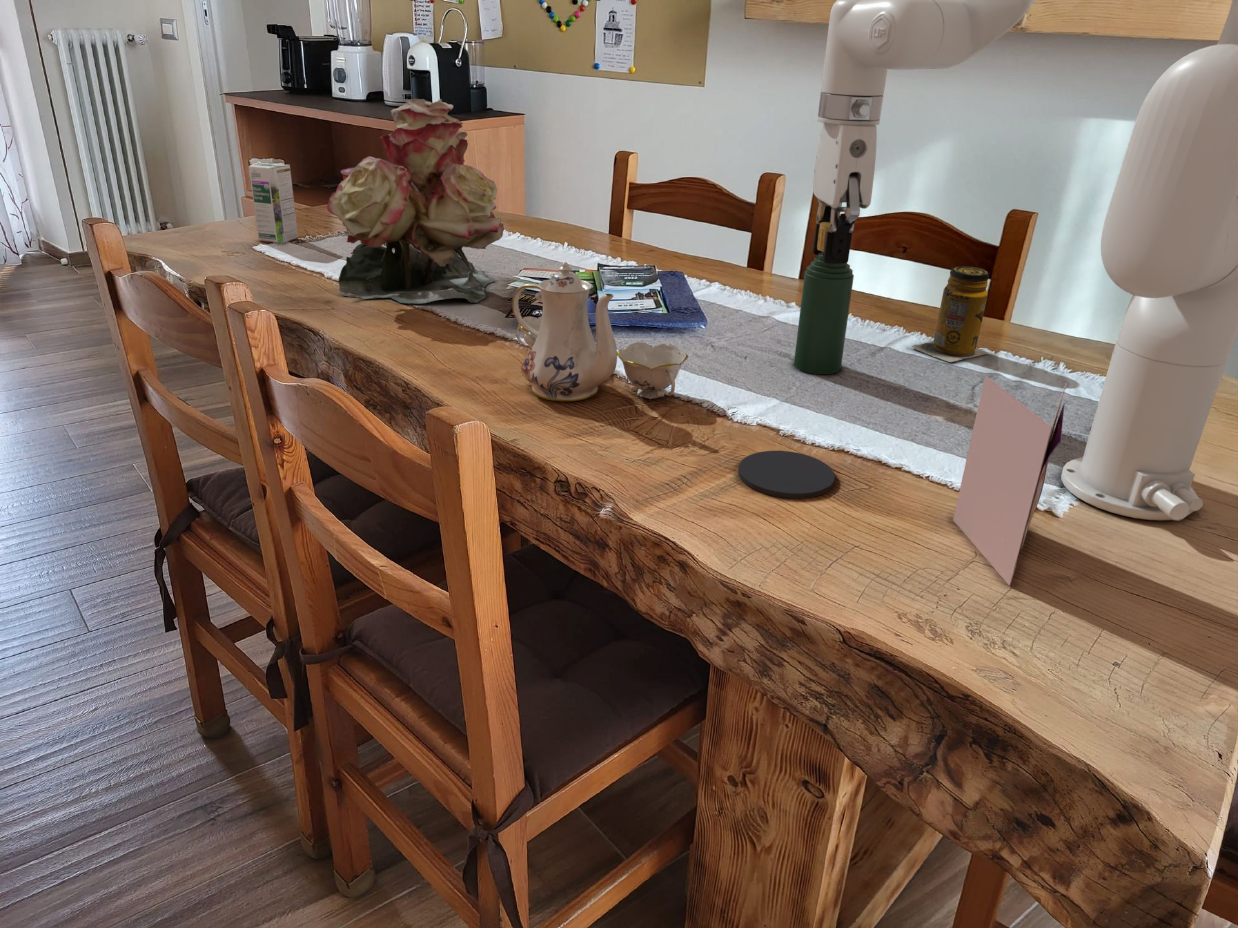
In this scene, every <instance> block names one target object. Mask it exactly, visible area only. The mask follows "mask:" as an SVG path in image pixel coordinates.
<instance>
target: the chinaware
mask: <svg viewBox="0 0 1238 928" xmlns="http://www.w3.org/2000/svg"><path fill="white" fill-rule="evenodd" d="M558 270H559V271H558V272H555V273H553V274H552V275H551V278H550V279H543V280H542V281H540V282H538V284H537V283H533V282H532V283H531V282H529V283H525V284H523V285H520V286H518V288H517V289H516V290H515V292H514V294H513V296H512V302H511V308H512V313H513V316H514V318H515V320H516V322H517V323H518V325H517V326H516V329H515V337H516V339H517V341H518V343H519V344H521V345H522V346H524V347H528V348H529V349H530V351H529V352H528V353H527V355H526V357H525V358H524V360H523V362H522V364H521V367H520V371H521V374H522V376H523V377H524V378H525V379H526V380H527V381H528V382H529V383H530V384H531V385H532V386H531V392H532V393H533V394H534V395H535V396H537V397H538V398H540V399H543V400H547V401H553V402H562V403H563V402H564V403H568V402H569V403H570V402H579V401H585V400H588V399H590V398H592V397H594V396H595V395H596V394H597V393H598V391H599V387H598V386H599V385H601V384H602V383H603V382H604V381H606V380H607V379H609V378H610V377H611V376H612V375H613V374H614V373H615V370H616V368H617V363H618V358H619V359H620V361H621V363H622V366H623V369H624V373H625V376H626V377H627V379H628V381H629V382H630V383H631V384H632V386H634V387H635V388H637V394H636V395H637V397H642V398H644V399H649V400H652V399H657V398H663V397H665V396H667V397H671V396H672V395H674V393H675V390H676V379H677V377H678V375H679V373H680V370H681V367H682V366H683V363H685V362H686V361H688V359H689V354H687V353H686V352H681V351H680V350H679V349H678V347H677V346H676V345H673V344H671V343H660V344H657V345H654V346H653V345H651V344H649V343H646V342H634V343H631V344H629V345H628V346H627V347H626V348H625V349H619V350H618V349H617V348H618V347H617V343H616V338H615V335H614V332H613V329H612V324H611V320H610V317H609V316H610V315H609V311H608V307H609V303H610V301H612V299H613V298H614V297H615V295H614V294H613V293H604V294H603V295H602V296H600V297H599V298H598V301H597V303H596V305H595V332H596V336H595V337H596V341H595V339H594V336H593V332H592V329H591V325H590V321H589V314H588V313H589V312H588V301H589V296H590V291H591V289H592V288H593V287H592V286H593V284H592V283H590V282H589V281H587V280H584V279H580V277H579V276H578V274H577V273H575V272H573V271H572V270H573V269H572V267H570V264H569V263H568V262H567V261H564V262H563V263H562V264H561V266H560V267H559V268H558ZM527 289H537V290H540V291H539V292H536V293H535V294H534V298H535V299H536V300H537V301H542V312H541V315H540V316H538V317H535V316H531V315H529V316H523V317H522V314H521V312H520V307H519V299H520V295H521V294H522V292H523V291H525V290H527ZM519 331H520V332H522V333H523V340H522V339H521V338H520V335H519V333H520V332H519ZM668 387H670V392H669V393H668V392H667V391H666V390H665V389H667V388H668Z"/></svg>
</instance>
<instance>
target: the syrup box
mask: <svg viewBox="0 0 1238 928" xmlns="http://www.w3.org/2000/svg"><path fill="white" fill-rule="evenodd" d="M290 166H291V164H282V163H281V164H280V163H270V162H269V163H268V162H259V163H255V164H254V163H253V164H251V165H249V166H248V174H249V182H250V188H251V189H250V190H251V194H252V202H253V209H254V215H255V225H256V231H257V239H258V242H268V243H269V242H270V243H277V244H285V243H288V242H290V241H293V240H295V239H299V232H298V223H297V214H296V207H295V197H294V190H293V182H292V180H293V179H292V173H291V167H290Z"/></svg>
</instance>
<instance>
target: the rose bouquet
mask: <svg viewBox="0 0 1238 928" xmlns="http://www.w3.org/2000/svg"><path fill="white" fill-rule="evenodd" d="M453 109H454V105H453V104H449V103H447V102H444V101H443V99H442V98H440V99H438V100H437V101H434V102H431V101H429V100H426V99H424V98H421V99H420V98H413V99H412V98H410V99H405V103H404V104H403V105H401V106H399V107H397V108H393V109H391V110H390V113H391V117H392V120H393V123H394V125H395V126H396V128H395V129H394V130H393V131H392V132H391V133H389V134H383V135H382V136H380V137H379V138H378V139H379V140H380V141H381V143H382V144H383V146H384V149H385V151H386V155H387V157H388V159H389V161H387V160H385V159H383V158H378V157H377V158H376V157H373V156H367V157H365V158H363V159H362V160H361V161H360V162H358V163H357V165H356V166H354V168H355V169H354V171H352V173H351V174H350V175H349V176H348V177H347V178H346V179H345V180H344V179H343V180H341V181H340V183H338V186H337V188H336V191H335V192H331V194H330V197H329V199H328V202H327V205H326V209H327V211H328V212H329V214H331V215H334V216H336V217H337V218H338V219H339V220H340V222H342V223H341V224H342V225H343V226H344V227H345V229H346V231H347V232H349V233H351V234H349V235H348V236H347V238H346V243H351V244H355V243H357V242H358V241H359V244H357V245H356V246H355V247H354V249H353V250H352V252H351V253H350V254H351V256H346V257H345V258H346V259H345V260H346V261H345V264H344V265H343V266H342V267H341V270H340V273H339V277H338V286H339V287H338V291H339V292H340V294H341V295H342V296H345V297H352V298H353V297H355V298H361V299H359V301H360V300H362V299H363V300H369V299H379V298H380V299H383V298H384V299H385V298H387V299H388V298H389V299H390V298H391V299H393V300H395V301H397V302H398V303H400V304H418V305H419V304H421V305H422V304H427V303H431V302H437V301H441V300H449V299H450V300H451V299H466V300H467V301H468V302H469V303H471V304H477V303H479V302H480V301H482V300H484V299H486V298H487V293H486V289H485V287H486V286H487V285H489V284H491V283H494V282H495V280H494V279H493V280H492V279H491V278H489V277H487V276H485V275H484V273H483V272H482V271H481V270H479V271H478V270H476V268H475V265H474V263H472V262H470V261H468V258H467V256H466V254H465V252H464V251H463V248H470V249H475V250H486V249H487V247H488V246H489V245H491V244H493V243H495V242H497V241H500V240H501V239H502V237H503V236H504V230H505V227H504V226H505V225H504V223H502V219H501V218H500V217H496V216H495V215H494V212H492V211H494V210H496V209H497V206H496V203H495V200H496V199H497V195H498V188H497V184H496V182H495V181H494V180H492V179H490V178H488V177H487V176H485V174H484V173H483V172H481V171H482V170H480V169H477V168H475V167H473V166H471V165H469V164H465V162H466V161H465V158H464V157H465V153H466V151H467V150H468V146H469V144H468V143H469V142H468V140H467V139H466V137H468V132H467V131H465V130H462V129H463V127H464V126H463V124H464V123H463V122H462V120H461V121H460V120H459V119H457V118H455V117H452V116H450V115H448V113H449V112H450V111H452V110H453ZM446 120H447V121H446ZM383 245H386V247H385V246H383ZM393 249H394V250H393Z"/></svg>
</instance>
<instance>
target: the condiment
mask: <svg viewBox="0 0 1238 928" xmlns="http://www.w3.org/2000/svg"><path fill="white" fill-rule="evenodd" d="M989 278H990V273H989V272H988V271H987V270H986V269H983V268H979V267H973V266H962V265H961V266H955V267H952V268H951V269H950V271H949V277H948V280H947V284H946V286H945V287H944V288H943V292H942V296H941V301H940V307H939V312H938V315H937V321H936V326H935V332H934V337H933V341H932V342H923V343H920V344H914V345H911V346H910V347H911V348H913V349H915V350H917V351H919V352H921V353H923V354H925V355H929V356H931V357H932V358H937V359H940V360H942V361H945V362H949V363H953V362H958V361H963V360H964V359H965V360H966V359H972V358H975V357H980V356H982V355H983V356H984V355H986V354H988V352H987V351H985V350H981V349H977V347H978V341H979V338H980V332H981V328H982V322H983V318H984V314H985V309H986V305H987V300H988V293H989V292H988V291H987V287H988V281H989Z"/></svg>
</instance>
